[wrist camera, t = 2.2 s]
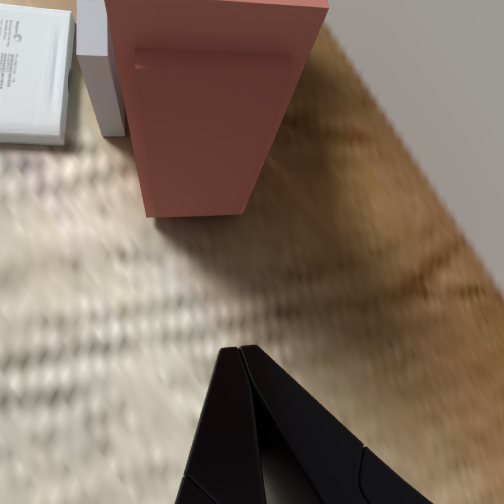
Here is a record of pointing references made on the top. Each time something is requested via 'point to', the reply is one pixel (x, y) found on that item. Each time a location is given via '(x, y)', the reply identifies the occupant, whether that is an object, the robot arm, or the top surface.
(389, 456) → the top surface
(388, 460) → the top surface
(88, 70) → the socket block
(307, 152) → the top surface
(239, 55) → the pink rectangular block
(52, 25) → the external hard drive
